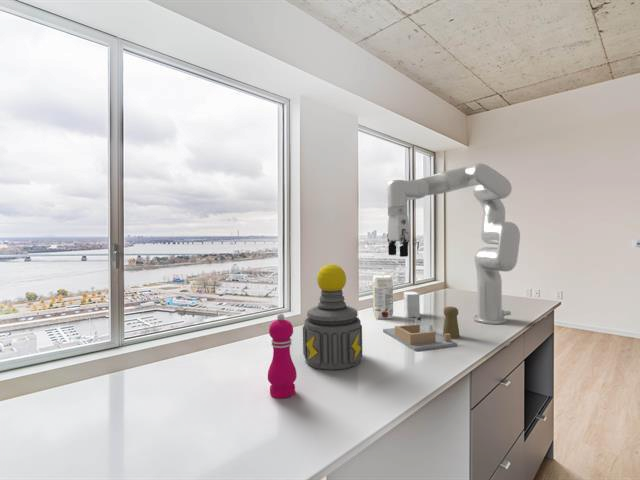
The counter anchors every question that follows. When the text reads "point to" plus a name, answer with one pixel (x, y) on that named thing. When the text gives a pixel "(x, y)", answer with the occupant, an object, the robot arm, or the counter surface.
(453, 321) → the cork
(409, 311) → the small box
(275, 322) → the pepper mill
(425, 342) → the dock
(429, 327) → the bar
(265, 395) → the counter surface
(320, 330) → the decorative lamp
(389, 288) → the juice carton
